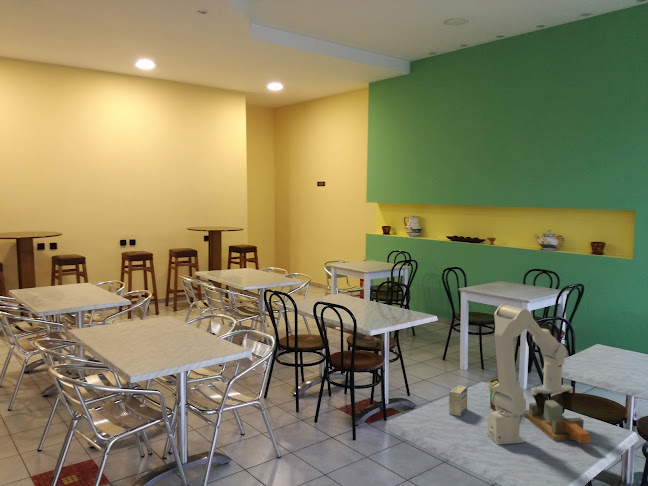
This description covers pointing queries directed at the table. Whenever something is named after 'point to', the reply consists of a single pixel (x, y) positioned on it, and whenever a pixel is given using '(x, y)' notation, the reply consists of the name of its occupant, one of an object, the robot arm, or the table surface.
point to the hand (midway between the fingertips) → (551, 413)
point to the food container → (490, 386)
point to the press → (544, 423)
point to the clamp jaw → (571, 428)
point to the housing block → (552, 411)
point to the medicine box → (458, 400)
